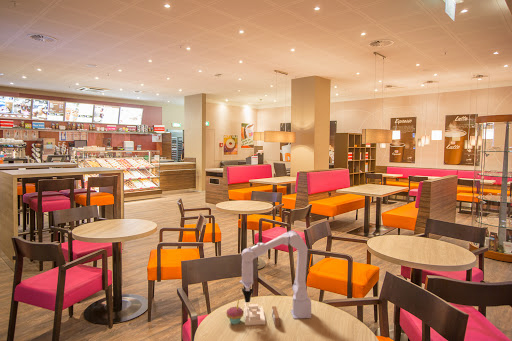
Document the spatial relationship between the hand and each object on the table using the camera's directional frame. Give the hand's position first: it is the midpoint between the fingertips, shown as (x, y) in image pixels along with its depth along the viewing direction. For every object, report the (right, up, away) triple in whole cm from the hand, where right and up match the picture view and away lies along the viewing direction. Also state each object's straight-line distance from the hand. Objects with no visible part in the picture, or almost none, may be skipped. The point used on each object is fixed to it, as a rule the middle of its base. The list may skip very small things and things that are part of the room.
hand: (247, 298), depth 161 cm
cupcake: (-6, -11, -4) cm, 13 cm away
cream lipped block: (+3, -10, 0) cm, 11 cm away
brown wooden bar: (+14, -10, -3) cm, 18 cm away
